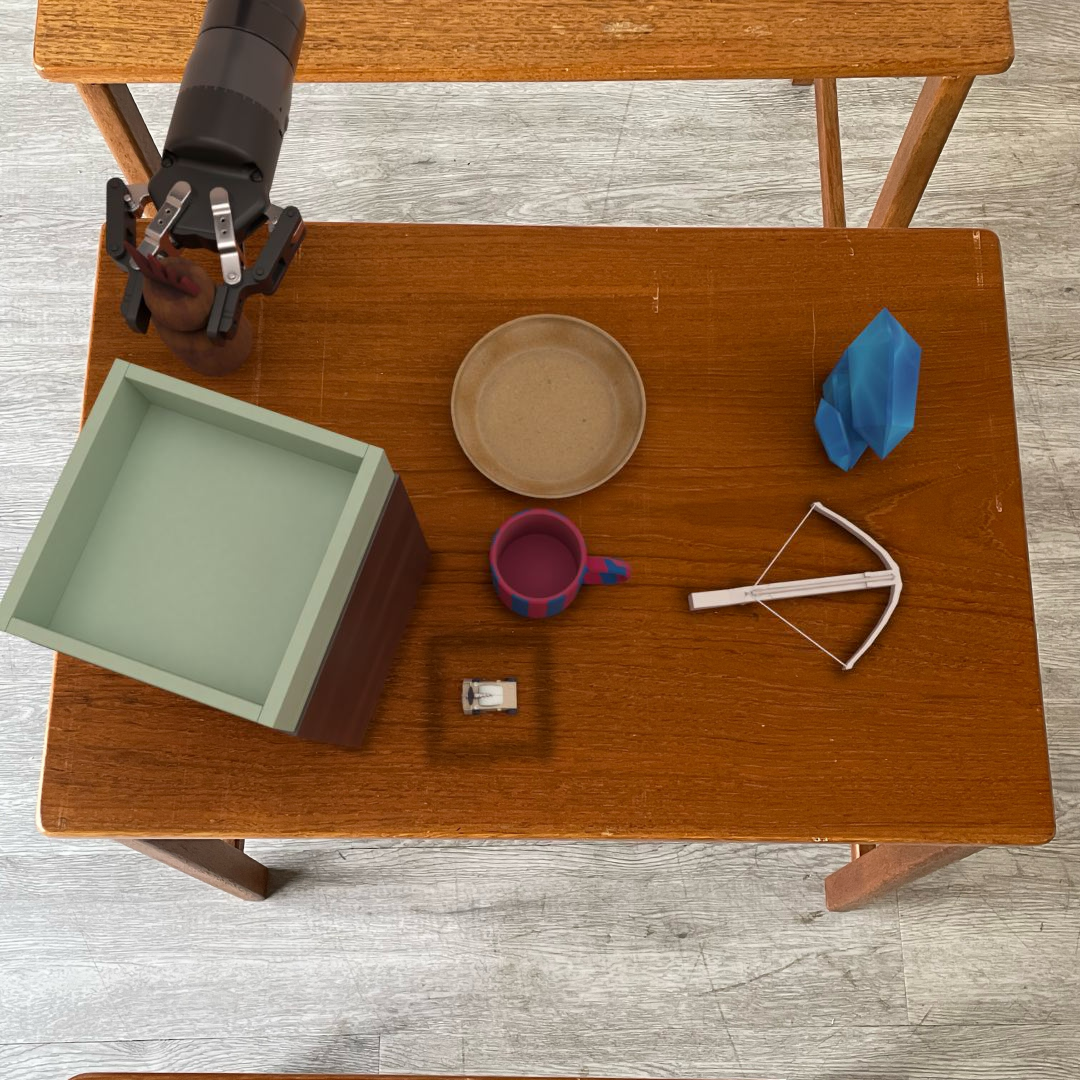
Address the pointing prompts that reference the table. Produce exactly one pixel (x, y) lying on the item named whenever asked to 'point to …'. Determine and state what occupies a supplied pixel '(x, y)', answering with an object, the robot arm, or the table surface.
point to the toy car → (489, 696)
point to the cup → (546, 563)
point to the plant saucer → (548, 406)
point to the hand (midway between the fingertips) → (175, 334)
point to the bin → (199, 545)
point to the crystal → (870, 393)
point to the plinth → (366, 628)
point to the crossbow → (815, 585)
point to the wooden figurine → (189, 314)
